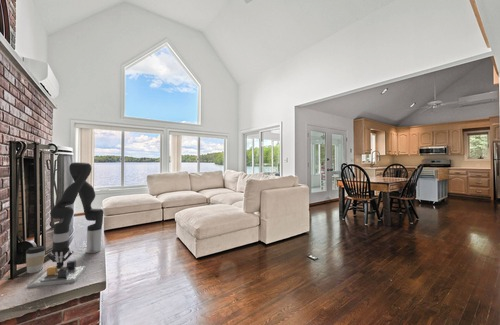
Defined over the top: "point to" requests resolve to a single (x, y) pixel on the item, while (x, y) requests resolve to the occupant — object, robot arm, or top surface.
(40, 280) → the breaker panel
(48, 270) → the toggle
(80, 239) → the top surface
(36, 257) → the coffee cup
